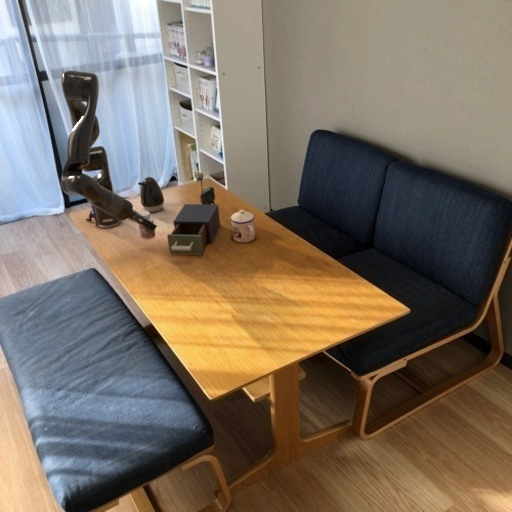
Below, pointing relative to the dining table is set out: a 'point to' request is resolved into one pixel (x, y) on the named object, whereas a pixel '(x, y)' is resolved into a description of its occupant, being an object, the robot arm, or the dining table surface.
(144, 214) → the pill bottle
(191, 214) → the cabinet
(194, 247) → the drawer
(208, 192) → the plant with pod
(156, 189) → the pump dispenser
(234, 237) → the teacup with lid
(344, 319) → the dining table surface
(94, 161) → the robot arm
